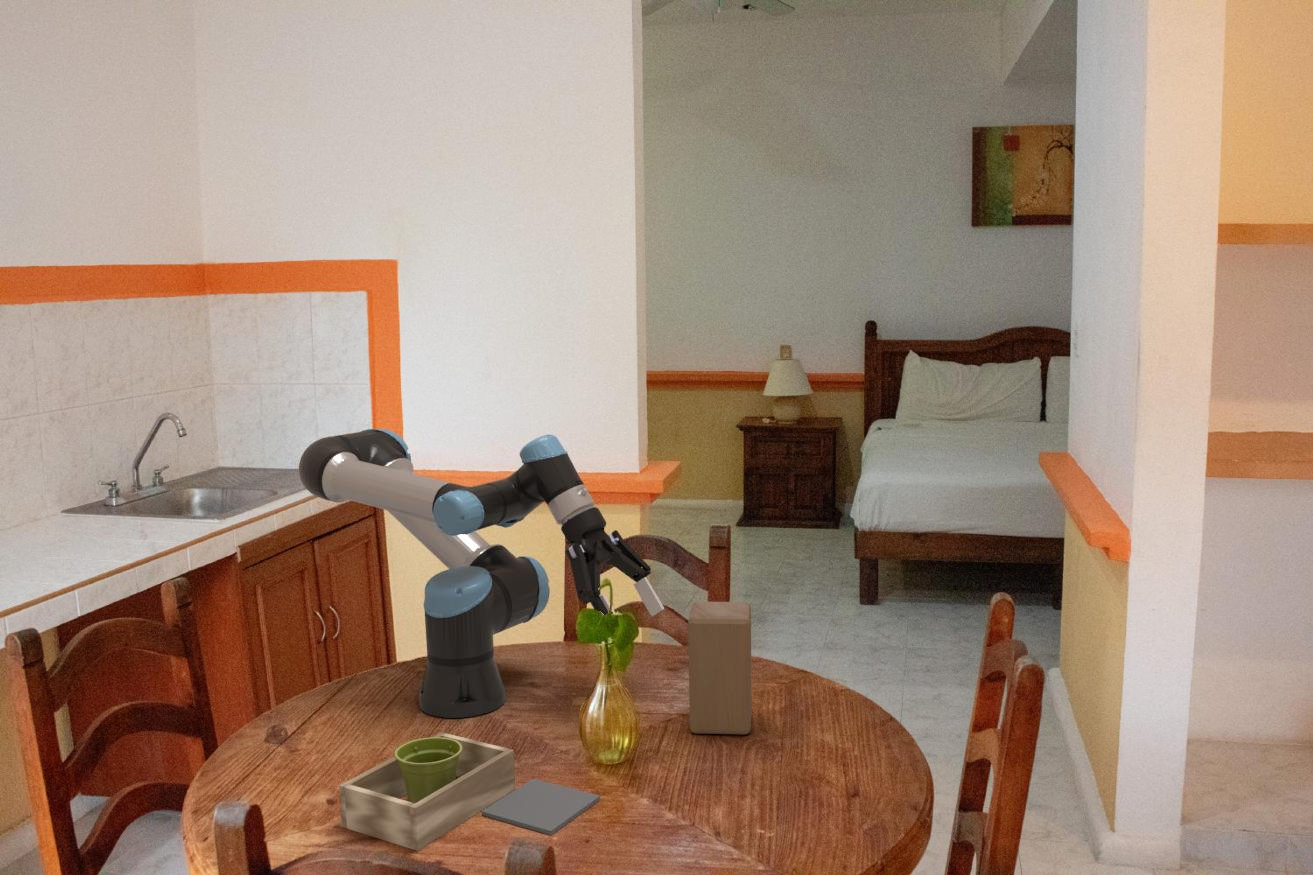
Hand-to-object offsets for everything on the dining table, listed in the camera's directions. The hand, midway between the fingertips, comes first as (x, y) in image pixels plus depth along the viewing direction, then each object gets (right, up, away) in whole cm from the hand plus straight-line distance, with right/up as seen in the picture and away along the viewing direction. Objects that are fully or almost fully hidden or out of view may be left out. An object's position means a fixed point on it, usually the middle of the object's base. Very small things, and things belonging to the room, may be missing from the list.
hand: (638, 622), depth 197 cm
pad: (-13, -21, -34) cm, 42 cm away
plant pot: (-29, -21, -33) cm, 49 cm away
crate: (-29, -21, -33) cm, 49 cm away
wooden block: (+14, -16, -5) cm, 22 cm away
